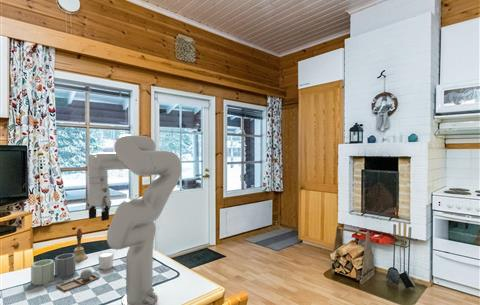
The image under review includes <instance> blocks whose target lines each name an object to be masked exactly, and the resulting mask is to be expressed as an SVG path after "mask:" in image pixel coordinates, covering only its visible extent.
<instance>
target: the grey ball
mask: <svg viewBox="0 0 480 305" xmlns="http://www.w3.org/2000/svg"><path fill="white" fill-rule="evenodd" d="M92 274H93V272H92V270H91V269H89V268H88V269H87V268H85V269H83V270H82V271H81V273H80V277H81V279H82V280H88V279H89V278H90V277H91V276H92Z"/></svg>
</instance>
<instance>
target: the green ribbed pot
mask: <svg viewBox="0 0 480 305" xmlns="http://www.w3.org/2000/svg"><path fill="white" fill-rule="evenodd" d="M54 279H55V259H42V260H38V261H34V262H33V263H32V264H31V265H30V283H31V284H32V285H34V286H36V285H37V286H38V285H43V284H47V283H50V282H52V281H53V280H54Z"/></svg>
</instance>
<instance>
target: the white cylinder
mask: <svg viewBox="0 0 480 305" xmlns="http://www.w3.org/2000/svg"><path fill="white" fill-rule="evenodd" d="M98 265H99V266H98V267H99V269H100V270H108V269H110V268H112V267H113V265H114V252H112V251H107V252H102V253H99V254H98Z"/></svg>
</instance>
